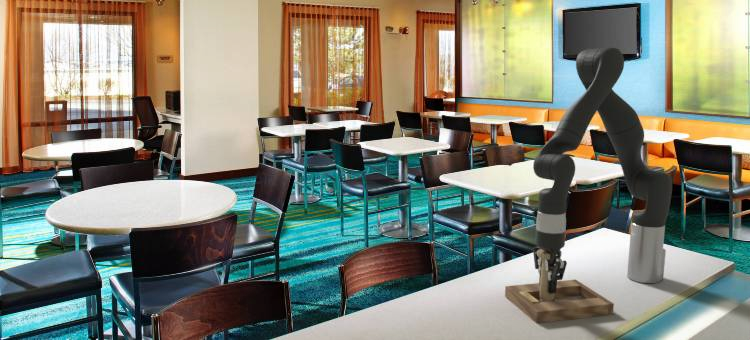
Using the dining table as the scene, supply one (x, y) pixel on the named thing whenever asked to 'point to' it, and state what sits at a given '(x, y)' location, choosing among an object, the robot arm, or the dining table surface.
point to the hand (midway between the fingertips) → (547, 289)
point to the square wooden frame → (559, 302)
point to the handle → (544, 277)
